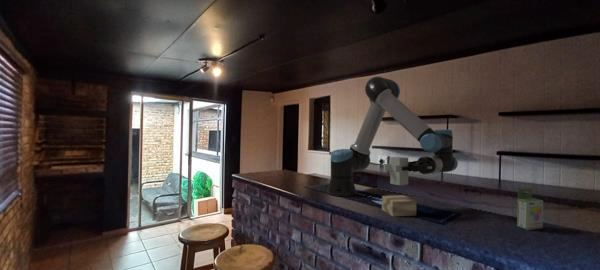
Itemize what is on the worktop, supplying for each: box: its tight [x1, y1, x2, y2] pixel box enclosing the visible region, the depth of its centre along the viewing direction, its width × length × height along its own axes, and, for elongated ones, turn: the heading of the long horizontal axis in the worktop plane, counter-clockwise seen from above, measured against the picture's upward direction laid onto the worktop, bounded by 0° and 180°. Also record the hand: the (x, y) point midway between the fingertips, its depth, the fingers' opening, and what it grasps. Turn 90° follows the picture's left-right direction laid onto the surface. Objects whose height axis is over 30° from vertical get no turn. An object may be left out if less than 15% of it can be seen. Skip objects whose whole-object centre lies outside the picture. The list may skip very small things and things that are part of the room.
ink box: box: [516, 187, 544, 231], centre depth 100 cm, size 7×4×13 cm, turn 105°
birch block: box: [381, 194, 417, 217], centre depth 119 cm, size 10×10×6 cm
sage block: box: [389, 156, 409, 186], centre depth 119 cm, size 5×5×11 cm
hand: (389, 168), depth 117 cm, fingers closed on sage block, 5 cm apart
